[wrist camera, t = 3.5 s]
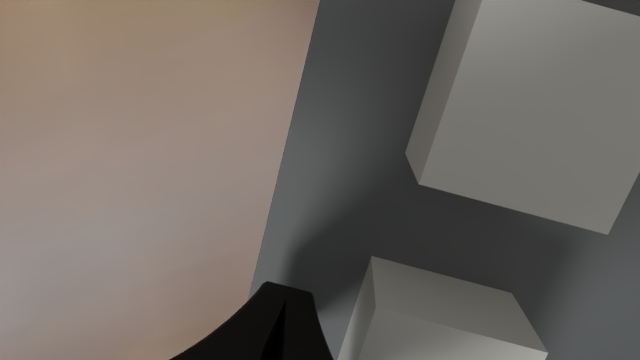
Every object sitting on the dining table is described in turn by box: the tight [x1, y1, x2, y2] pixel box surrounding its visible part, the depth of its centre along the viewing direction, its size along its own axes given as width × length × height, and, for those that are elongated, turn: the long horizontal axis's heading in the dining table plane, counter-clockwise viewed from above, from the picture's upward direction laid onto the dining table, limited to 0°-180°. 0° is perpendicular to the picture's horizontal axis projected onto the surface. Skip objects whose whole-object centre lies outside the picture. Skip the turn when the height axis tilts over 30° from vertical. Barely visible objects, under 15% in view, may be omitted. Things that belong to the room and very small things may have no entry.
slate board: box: [248, 0, 640, 360], centre depth 13 cm, size 16×12×2 cm
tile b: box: [405, 0, 640, 235], centre depth 10 cm, size 4×4×2 cm
